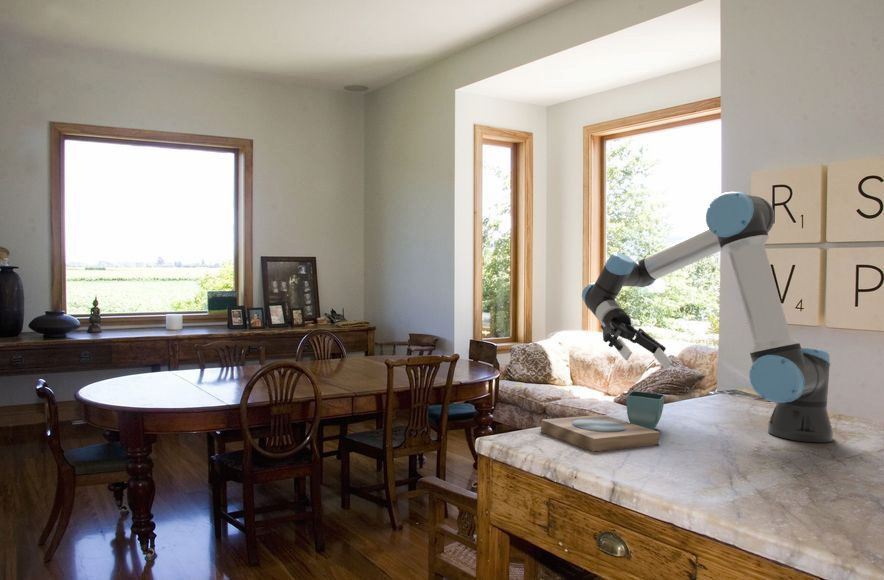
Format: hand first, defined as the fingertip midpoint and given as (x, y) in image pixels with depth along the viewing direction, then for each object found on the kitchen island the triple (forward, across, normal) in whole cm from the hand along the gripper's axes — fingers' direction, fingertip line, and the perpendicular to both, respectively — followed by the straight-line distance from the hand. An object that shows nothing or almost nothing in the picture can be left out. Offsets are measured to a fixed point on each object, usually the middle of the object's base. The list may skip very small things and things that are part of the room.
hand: (649, 361), depth 185 cm
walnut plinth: (+17, +17, -15) cm, 28 cm away
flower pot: (+10, -1, -15) cm, 18 cm away
